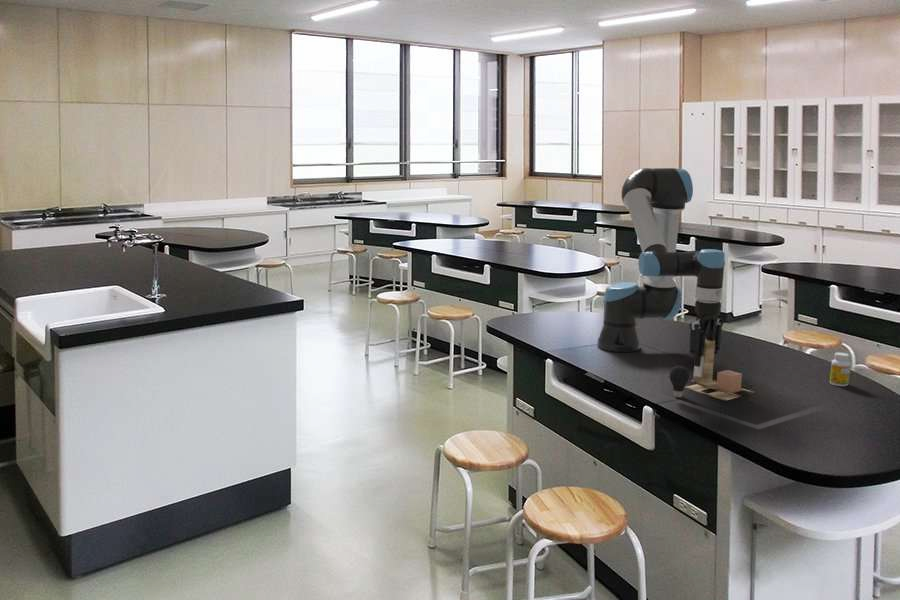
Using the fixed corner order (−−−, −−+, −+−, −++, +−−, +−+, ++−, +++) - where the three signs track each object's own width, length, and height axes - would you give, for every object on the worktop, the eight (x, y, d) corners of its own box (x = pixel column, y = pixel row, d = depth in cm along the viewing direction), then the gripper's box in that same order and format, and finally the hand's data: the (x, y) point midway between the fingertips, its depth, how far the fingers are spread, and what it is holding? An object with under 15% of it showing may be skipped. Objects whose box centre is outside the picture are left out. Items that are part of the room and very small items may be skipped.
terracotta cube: (716, 388, 247) (717, 372, 246) (726, 385, 250) (727, 369, 249) (730, 392, 243) (731, 376, 242) (740, 389, 246) (742, 373, 245)
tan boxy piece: (690, 383, 255) (693, 340, 252) (700, 381, 258) (704, 337, 255) (731, 396, 243) (735, 350, 240) (741, 393, 246) (745, 348, 243)
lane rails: (683, 390, 248) (683, 386, 248) (712, 383, 256) (712, 379, 256) (725, 403, 236) (725, 399, 236) (754, 395, 244) (754, 391, 244)
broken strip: (685, 390, 249) (685, 386, 249) (696, 387, 252) (696, 384, 251) (727, 403, 237) (727, 399, 237) (738, 400, 240) (738, 397, 239)
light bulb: (671, 394, 244) (674, 362, 242) (690, 398, 241) (692, 365, 239) (665, 399, 239) (667, 366, 237) (684, 403, 236) (686, 369, 234)
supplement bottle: (825, 381, 259) (829, 351, 257) (842, 381, 260) (845, 351, 258) (835, 386, 254) (838, 356, 252) (851, 386, 254) (855, 356, 252)
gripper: (700, 305, 242) (694, 382, 246) (736, 299, 251) (730, 373, 256) (680, 301, 248) (675, 376, 252) (715, 295, 257) (710, 367, 262)
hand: (702, 374), depth 254 cm, fingers closed on tan boxy piece, 4 cm apart
